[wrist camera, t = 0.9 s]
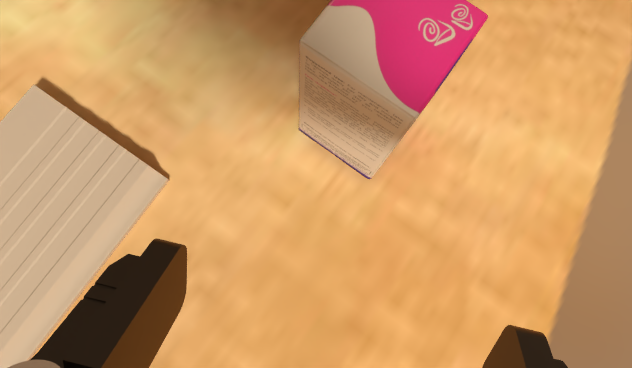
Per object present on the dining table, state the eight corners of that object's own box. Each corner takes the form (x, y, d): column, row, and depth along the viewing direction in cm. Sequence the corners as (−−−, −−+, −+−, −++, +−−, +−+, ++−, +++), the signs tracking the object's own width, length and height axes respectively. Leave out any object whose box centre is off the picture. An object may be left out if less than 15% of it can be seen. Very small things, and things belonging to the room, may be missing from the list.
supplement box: (372, 183, 28) (414, 122, 17) (296, 130, 29) (288, 37, 18) (422, 113, 29) (494, 11, 18) (348, 63, 30) (372, -66, 19)
